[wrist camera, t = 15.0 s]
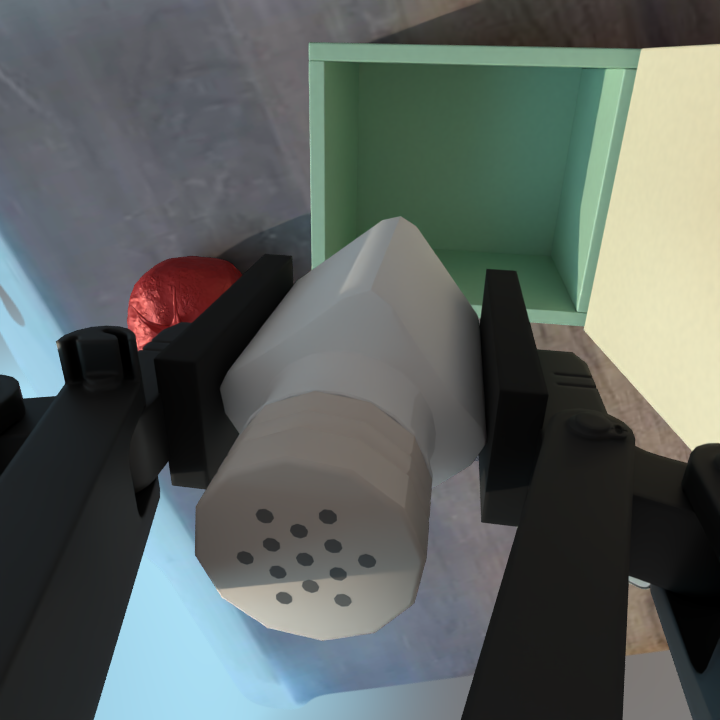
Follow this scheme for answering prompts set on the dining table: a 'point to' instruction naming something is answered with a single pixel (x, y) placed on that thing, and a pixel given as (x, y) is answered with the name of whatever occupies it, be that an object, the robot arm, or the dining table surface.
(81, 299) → the dining table surface
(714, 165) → the cover
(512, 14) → the dining table surface
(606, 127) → the case
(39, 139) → the dining table surface
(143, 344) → the pomegranate
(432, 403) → the pepper shaker
